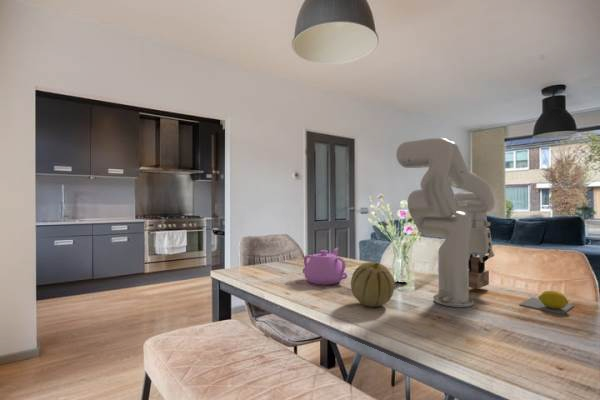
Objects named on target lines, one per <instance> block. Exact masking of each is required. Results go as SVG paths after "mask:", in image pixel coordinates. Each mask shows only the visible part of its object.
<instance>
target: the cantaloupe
mask: <svg viewBox="0 0 600 400" xmlns="http://www.w3.org/2000/svg"><path fill="white" fill-rule="evenodd" d="M393 276H394V275H393V274H392V273H391V271H390V270H389V269H388V268H387V266H385V265H383V264H381V263H379V262H377V261H376V262H375V261H372V262H371V261H369V262H365V263H362V264H360V265H359V266H358V267H357V268H355V270H354V271H353V273H352V275H351V280H350V288H351V293H352V295H353V297H354V298H355V299H356V300H357V301H358V303H361V304H362V305H364V306H367V307H371V308H372V307H373V308H376V307H377V308H378V307H381V306H384V305H385V304H386V303H388V302H389V301H390V300H391V298H392V296H393V293H394V289H395V281H394V277H393Z"/></svg>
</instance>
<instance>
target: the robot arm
mask: <svg viewBox="0 0 600 400" xmlns="http://www.w3.org/2000/svg"><path fill="white" fill-rule="evenodd" d="M395 155H396V161H397V162H398V164H399V165H400V166H401V167H403V168H406V169H420V168H428V169H427V171H426V172H425V174H424V175H423V176H422V178H421V181H420V188H421V189H415V190H413V191H412V192H411V193H410V194H408V195H409V196H408V197H407V210H408V213H409V215H410V217H411V219H412V221H413V222H414V224H415V226H416V227H417V230H418V232H419V233H420V234H421V235H423V236H425V237H429V238H442V239H444V241H443V243H442V244H441V245H440V247H439V248H438V258H437V259H438V294H437V293H436V294H434V295H433V300H434V302H435V303H436V304H439V305H442V306H446V307H451V308H469V307H472V306H473V305H474V303H475V301H474V300H473V298H471V297H469V296H470V295H469V288H470V287H469V274H468V271H471V257H474V255H475V254H476V255H478V257H479V258H480V262H479V263H478V272H479V273H482V272H484V270H486V264H485V263H486V262H487V260H489V259H491V258H494V257H495V253H494V251H493V244H492V243H493V242H492V241H493V240H492V236H491V230H490V226H491V222H489V221H488V219H487V218H488V217H487V216H488V213H490V212H492V210H493V209H494V208H495V198H494V193H493V191H492V189H491V186H490V184H489V183H488V182H487V181H486V180H485V179H483V178H482V177H480V176H479V175H477V174H475V173H474V172H472V171H470V170H469V169H468V167H467V165H466V162H465V159H464V157H463V155H462V152H461V150H460V148H459V146H458V144H457V143H456V142H454V141H451V140H449V139H447V138H444V137H431V138H424V139H418V140H410V141H409V140H408V141H404V142H402V143H400V145H399V146H398V147H397V149H396V154H395ZM453 188H456V189H458V190H462V191H466V192H457V193H454V190H453Z"/></svg>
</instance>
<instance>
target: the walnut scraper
mask: <svg viewBox="0 0 600 400" xmlns="http://www.w3.org/2000/svg"><path fill="white" fill-rule="evenodd" d="M479 262H480V258H479V256H474V255H473V257H471V271H469V270H468V274H469V288H471V289H477V290H479V289H481V288H483V287H486V286H489V285H490V271H489V270H486V269H485V270H484V272H482V273H479V272H478V263H479Z"/></svg>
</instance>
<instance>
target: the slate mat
mask: <svg viewBox="0 0 600 400" xmlns="http://www.w3.org/2000/svg"><path fill="white" fill-rule="evenodd" d="M518 305H519V306H521V307H525V308H531V309H534V310H538V311H539V310H540V311H546V312H549V313H554V314H559V315H564V314H565V313H567V312H569V311H570V310H571V309H573V308H574V304H569V303H568V304H567V305H566V306H565V307H564V308H561V309H553V308H549V307H546V306H545V305H544V304H543V303H542V302H541V300H540V299H539V298H538V297H537V298H535V297H531V298H529V299H527V300H524V301H523V302H521V303H519V304H518Z"/></svg>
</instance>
